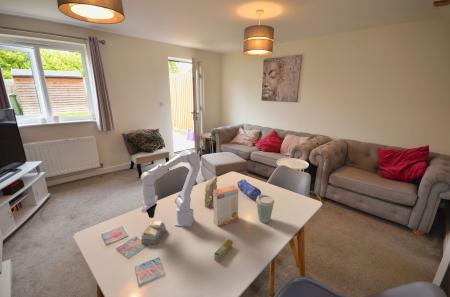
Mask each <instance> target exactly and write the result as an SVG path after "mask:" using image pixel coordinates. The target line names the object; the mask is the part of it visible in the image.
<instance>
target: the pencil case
mask: <svg viewBox="0 0 450 297" xmlns="http://www.w3.org/2000/svg"><path fill="white" fill-rule="evenodd" d="M236 184H237V188H238V190H241V191H242V192H243V193H244V194H245V196H248V197H249V198H251V200H253V201H256V199H257V197H258V196H259V195H261V194H262V191H261V190H260V189H259V188H258V187H257V186H255V185H252V184H251V183H249V182H248V181H247V180H246V179H244V178H243V179H241V180H239V181H237V182H236Z"/></svg>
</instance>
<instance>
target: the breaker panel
mask: <svg viewBox="0 0 450 297" xmlns="http://www.w3.org/2000/svg"><path fill="white" fill-rule="evenodd" d="M151 222H152V221H151ZM151 222H149V224H150V223H151ZM162 223H163V224H162V226H161V228H158V227H151V228H153V229H155V230H157V231H158V232H157V234H156V235H147V234H145V233H144V231H143V232H142V233H141V239H140V240H141V244H143V245H144V244H146V245H158V243H159V242H160V240H161V238H162V236H163V234H164V233H165V232H166V225H165V222H163V221H162ZM149 224H148V225H147V226H149Z"/></svg>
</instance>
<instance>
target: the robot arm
mask: <svg viewBox="0 0 450 297" xmlns="http://www.w3.org/2000/svg"><path fill="white" fill-rule="evenodd" d="M180 163H185V164H187V163H188V165H189V171H188V172H187V175H186V178H185V181H184V183H183V187H182V189H181V191H180V192H179V193H178V195H177V196H176V198H175V199H174V203H175V205H176V209H175V211H176V222H175V223H174V226H175V227H187V228H188V227H189V228H191V227H192V224H193V222H194V220H195V216H194V209H193V208H191V202H192V199H191V194H192V191H193V189H194V186H195V183H196V180H197V177H198V174H199V172H200V169H201V156H200V155H199V154H198V153H197V152H195V151H193V150H192V149H191V148H186V149H184V150H183V151H181V152H180V153H178V155H176V156H174V157H172V159H171V158H170V160H168V161H166V162H165V163H159V164H156V166H155V167H153V168H151V169H148V171H143V173H142V174H141V175H140V180H141V182H142V192H143V200H142V204H143V206H142V208H141V213H142V214H146V213H147V216H148V218H149V219H154V217H155V212H156V208H157V205H158V203H157V201H158V199H159V196H158V195H156V188H155V184H154V183H155V181H156V180H158V179H159V178H161V177H162V176H164V175H166V174H167V173H168V171H169V169H171V168H173V167H175V166H177V165H179V164H180Z"/></svg>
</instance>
